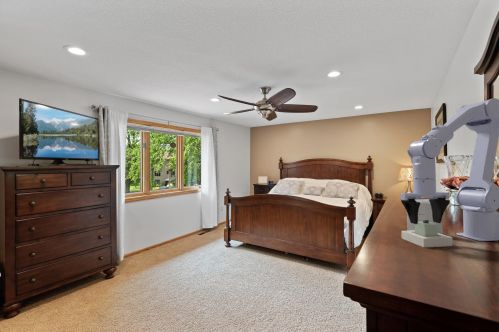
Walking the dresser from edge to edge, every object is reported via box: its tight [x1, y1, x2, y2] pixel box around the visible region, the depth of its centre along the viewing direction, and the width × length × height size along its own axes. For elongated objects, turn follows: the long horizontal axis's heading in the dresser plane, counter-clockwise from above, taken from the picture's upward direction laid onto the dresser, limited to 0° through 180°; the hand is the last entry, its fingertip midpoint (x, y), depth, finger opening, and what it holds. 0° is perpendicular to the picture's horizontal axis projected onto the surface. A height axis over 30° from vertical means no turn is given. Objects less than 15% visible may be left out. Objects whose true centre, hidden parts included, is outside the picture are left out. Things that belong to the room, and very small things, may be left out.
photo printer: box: [406, 197, 443, 234], centre depth 86 cm, size 10×4×12 cm, turn 39°
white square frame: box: [401, 230, 454, 248], centre depth 75 cm, size 9×9×2 cm
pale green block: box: [415, 220, 438, 237], centre depth 75 cm, size 4×4×7 cm
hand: (425, 222), depth 75 cm, fingers open, 7 cm apart
